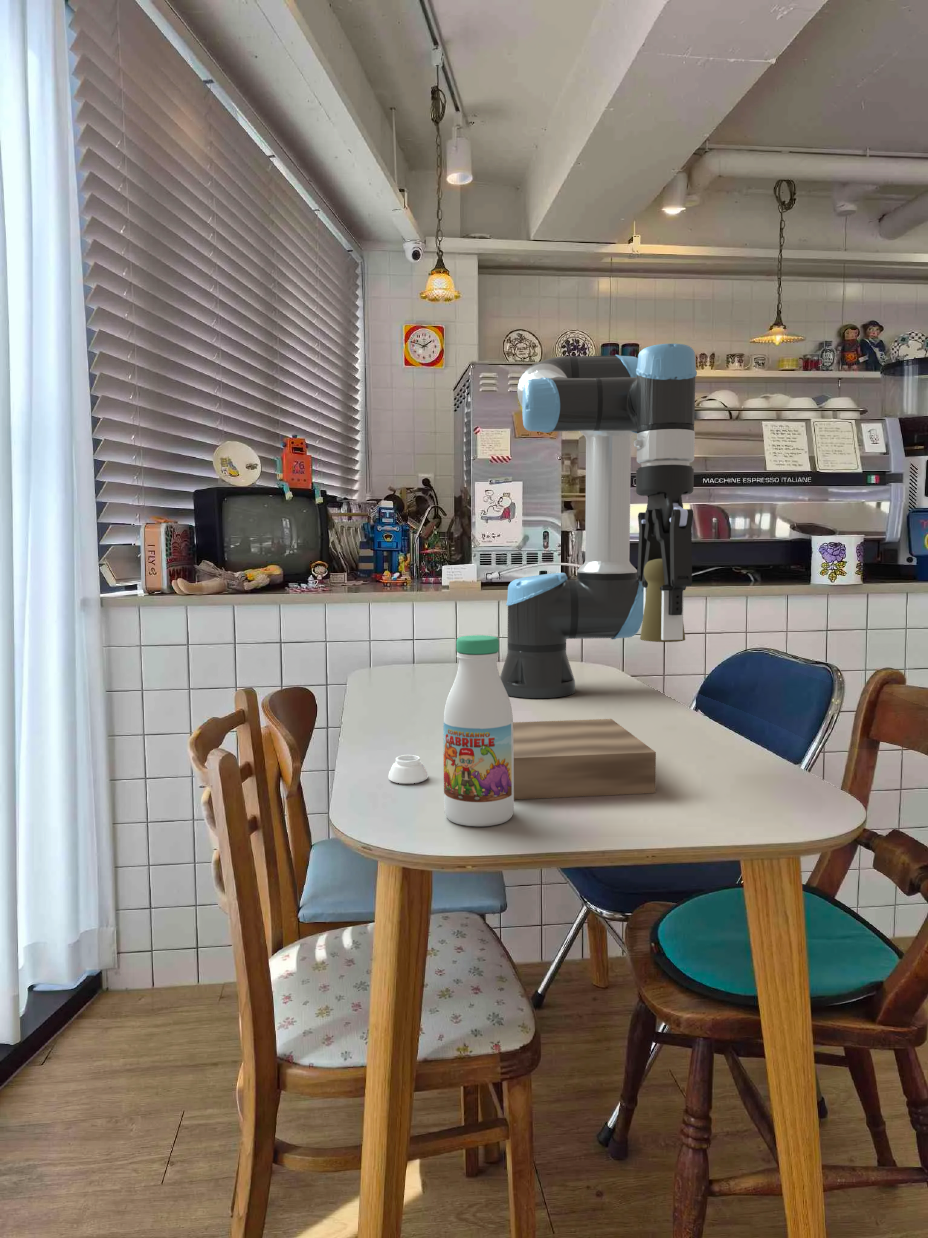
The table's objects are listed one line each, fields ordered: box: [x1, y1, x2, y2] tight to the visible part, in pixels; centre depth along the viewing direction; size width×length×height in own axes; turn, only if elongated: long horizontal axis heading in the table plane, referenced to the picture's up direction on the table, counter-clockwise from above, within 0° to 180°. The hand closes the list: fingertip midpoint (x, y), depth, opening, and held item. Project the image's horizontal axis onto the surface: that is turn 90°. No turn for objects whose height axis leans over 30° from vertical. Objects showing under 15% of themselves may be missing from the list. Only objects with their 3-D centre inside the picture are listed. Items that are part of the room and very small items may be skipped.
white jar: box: [388, 754, 429, 785], centre depth 103 cm, size 5×3×5 cm
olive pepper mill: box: [639, 559, 686, 643], centre depth 110 cm, size 6×6×11 cm
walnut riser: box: [513, 718, 657, 801], centre depth 104 cm, size 18×18×5 cm
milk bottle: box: [442, 634, 515, 827], centre depth 88 cm, size 8×8×20 cm
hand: (662, 636), depth 111 cm, fingers closed on olive pepper mill, 6 cm apart
